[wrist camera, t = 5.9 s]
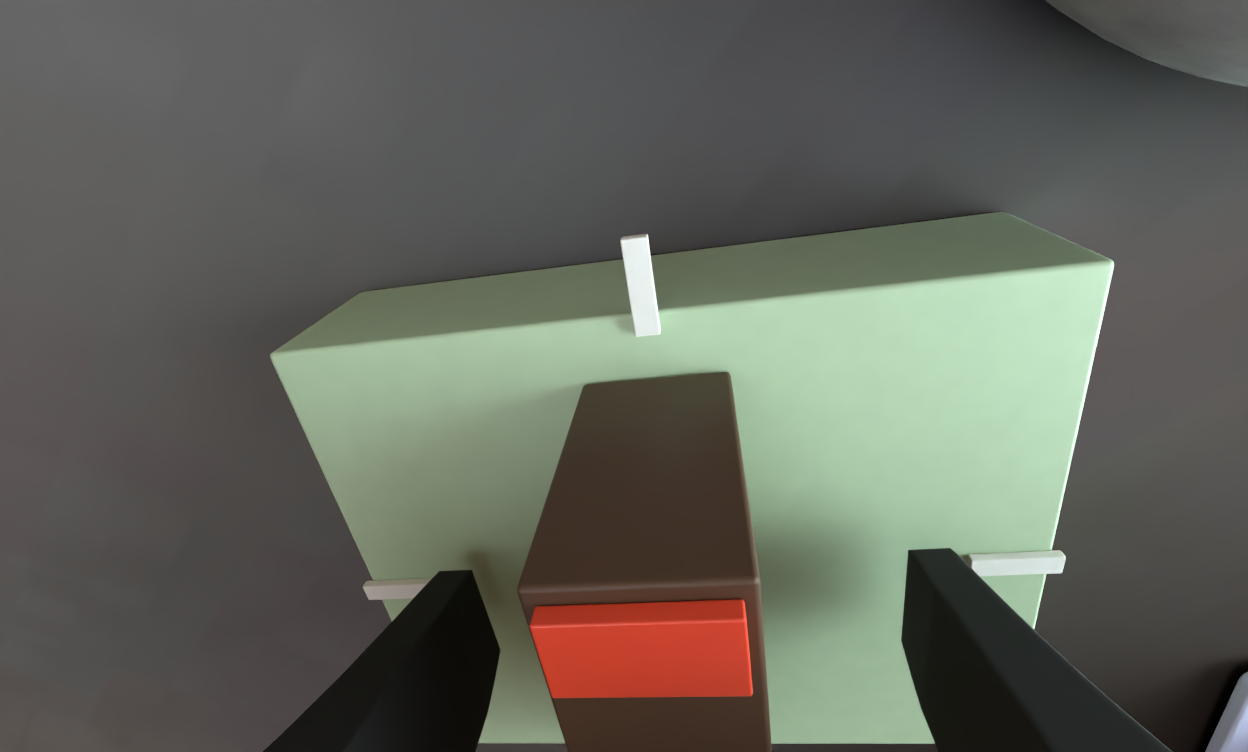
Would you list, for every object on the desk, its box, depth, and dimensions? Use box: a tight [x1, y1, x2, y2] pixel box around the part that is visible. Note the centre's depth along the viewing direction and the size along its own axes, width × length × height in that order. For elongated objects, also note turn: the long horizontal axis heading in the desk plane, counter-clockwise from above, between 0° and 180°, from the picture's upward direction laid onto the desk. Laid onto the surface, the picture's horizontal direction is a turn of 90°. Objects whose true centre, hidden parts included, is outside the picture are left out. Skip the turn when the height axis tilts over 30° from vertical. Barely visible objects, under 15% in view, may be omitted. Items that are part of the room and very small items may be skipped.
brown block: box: [517, 372, 772, 752], centre depth 9 cm, size 8×2×4 cm, turn 9°
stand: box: [270, 212, 1114, 744], centre depth 12 cm, size 12×12×3 cm
